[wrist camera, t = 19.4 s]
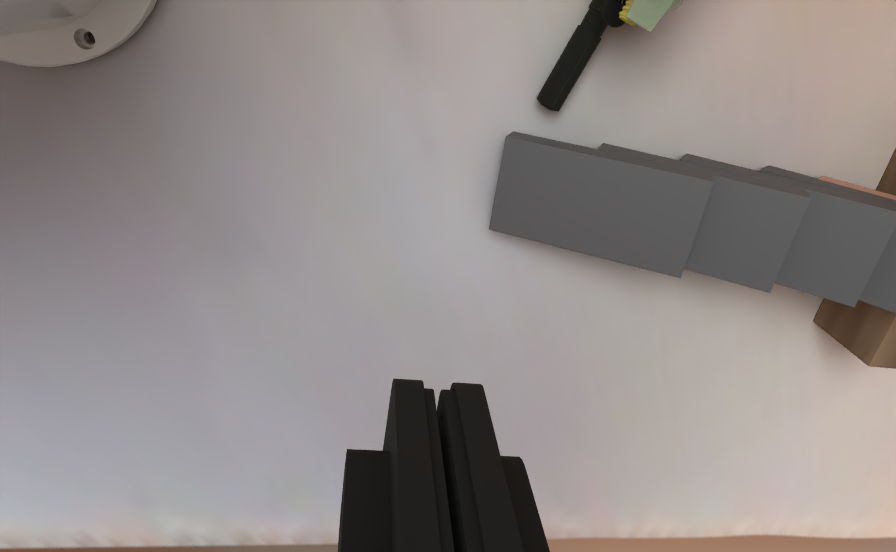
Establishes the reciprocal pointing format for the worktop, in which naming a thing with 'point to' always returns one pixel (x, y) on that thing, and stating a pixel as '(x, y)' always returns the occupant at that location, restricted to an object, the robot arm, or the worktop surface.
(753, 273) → the domino
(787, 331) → the worktop surface
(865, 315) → the bar
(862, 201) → the domino
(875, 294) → the domino
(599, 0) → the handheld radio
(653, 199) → the domino
